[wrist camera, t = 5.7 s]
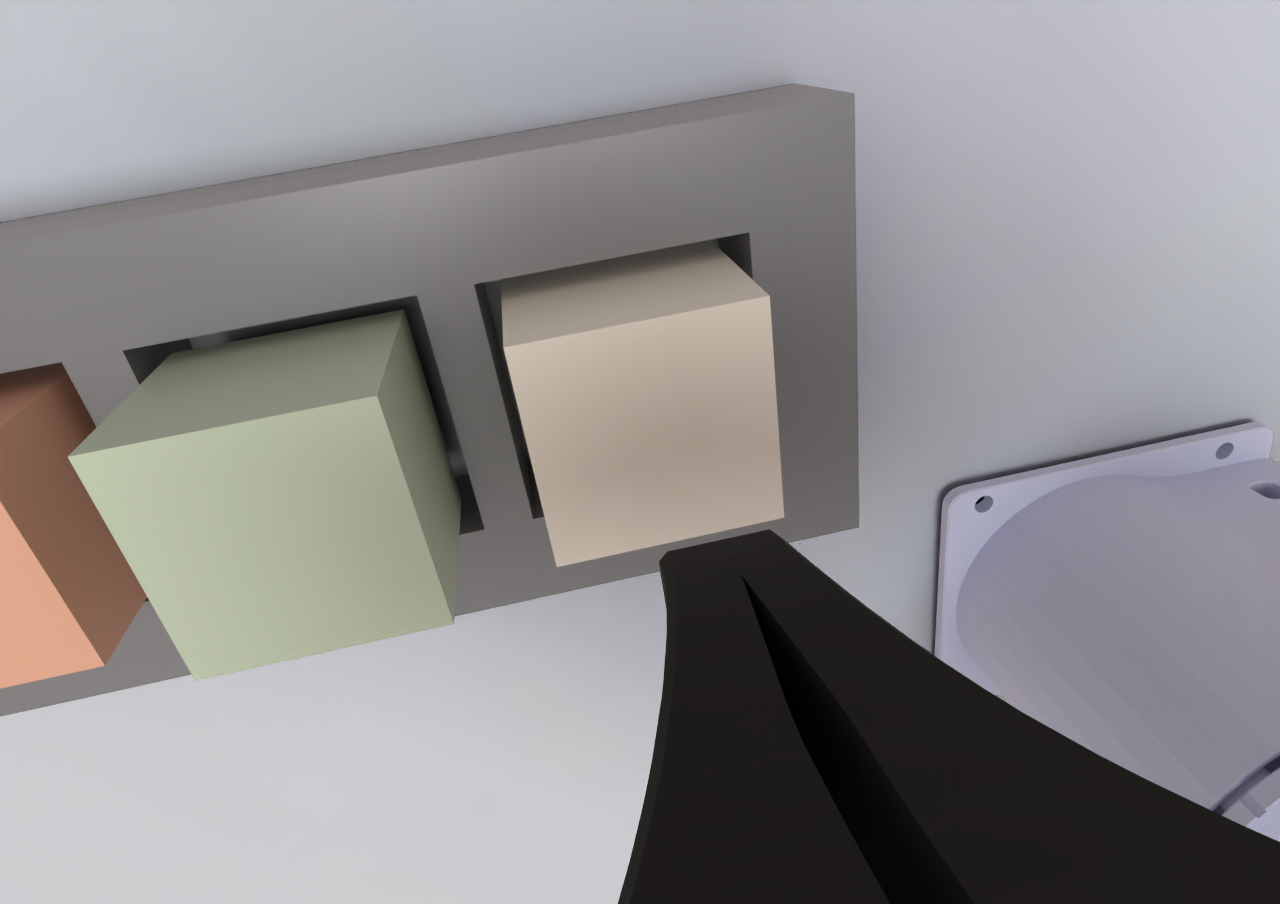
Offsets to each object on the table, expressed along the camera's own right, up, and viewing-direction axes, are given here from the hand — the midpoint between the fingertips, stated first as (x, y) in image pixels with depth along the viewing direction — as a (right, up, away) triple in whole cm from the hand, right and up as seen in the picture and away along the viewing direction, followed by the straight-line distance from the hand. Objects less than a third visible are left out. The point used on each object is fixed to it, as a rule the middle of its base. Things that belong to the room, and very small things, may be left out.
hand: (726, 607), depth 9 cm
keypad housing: (-7, +3, +8) cm, 11 cm away
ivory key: (-1, +4, +7) cm, 8 cm away
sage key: (-7, +2, +6) cm, 10 cm away
